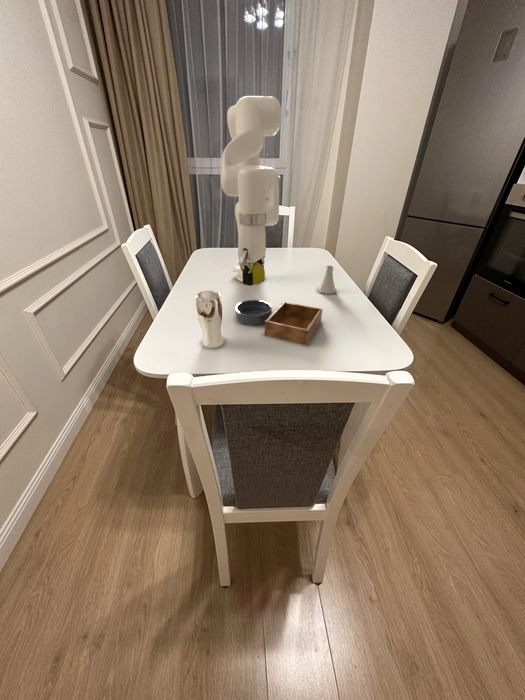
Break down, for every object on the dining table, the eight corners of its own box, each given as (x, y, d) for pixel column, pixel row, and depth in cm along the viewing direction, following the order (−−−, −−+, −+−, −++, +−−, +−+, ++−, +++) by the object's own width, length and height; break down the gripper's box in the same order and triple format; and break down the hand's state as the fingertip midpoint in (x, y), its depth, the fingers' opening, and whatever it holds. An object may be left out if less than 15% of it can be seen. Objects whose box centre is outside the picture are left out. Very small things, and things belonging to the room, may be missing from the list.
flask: (335, 295, 114) (339, 270, 108) (317, 293, 115) (320, 269, 109) (335, 288, 120) (339, 264, 114) (318, 286, 121) (320, 263, 115)
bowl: (229, 322, 95) (228, 311, 93) (246, 307, 104) (245, 297, 102) (262, 330, 91) (262, 318, 89) (277, 314, 100) (277, 303, 98)
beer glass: (202, 336, 87) (196, 290, 79) (225, 335, 88) (221, 289, 79) (200, 349, 81) (193, 301, 73) (224, 348, 82) (220, 300, 73)
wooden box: (264, 335, 88) (264, 321, 85) (282, 314, 100) (283, 301, 97) (306, 345, 83) (308, 331, 81) (320, 322, 95) (322, 308, 92)
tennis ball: (239, 282, 92) (238, 260, 88) (259, 279, 94) (259, 257, 90) (247, 289, 87) (246, 267, 83) (268, 286, 89) (268, 264, 85)
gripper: (254, 214, 88) (254, 270, 98) (225, 224, 75) (229, 288, 85) (276, 215, 85) (275, 273, 95) (251, 226, 72) (252, 292, 82)
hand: (253, 280), depth 90 cm, fingers closed on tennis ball, 7 cm apart
